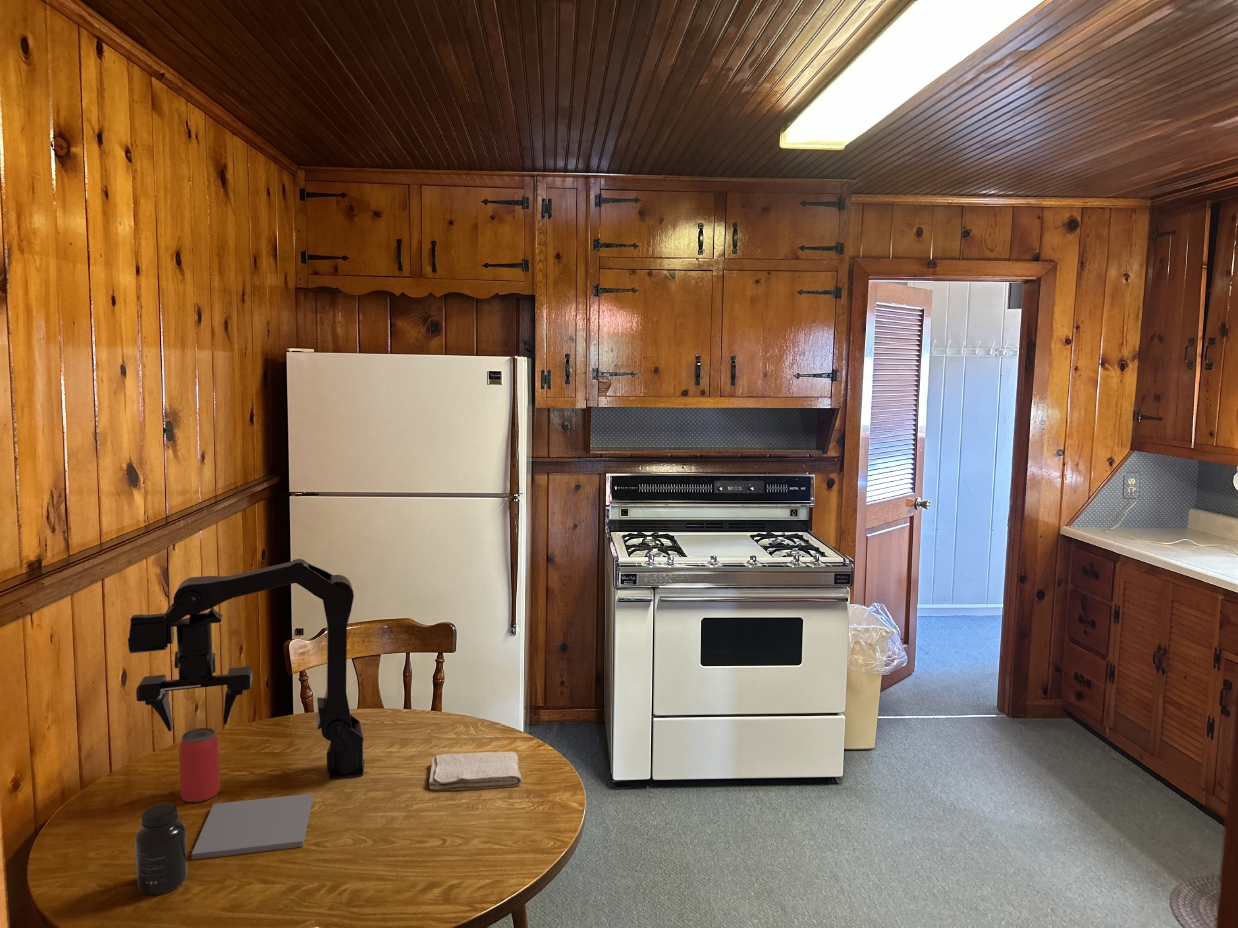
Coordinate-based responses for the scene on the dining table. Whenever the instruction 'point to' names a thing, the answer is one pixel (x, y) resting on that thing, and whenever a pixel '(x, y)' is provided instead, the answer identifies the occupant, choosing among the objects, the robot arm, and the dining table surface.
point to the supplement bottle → (161, 850)
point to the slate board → (254, 826)
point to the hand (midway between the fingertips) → (198, 727)
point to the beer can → (199, 765)
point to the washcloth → (474, 771)
